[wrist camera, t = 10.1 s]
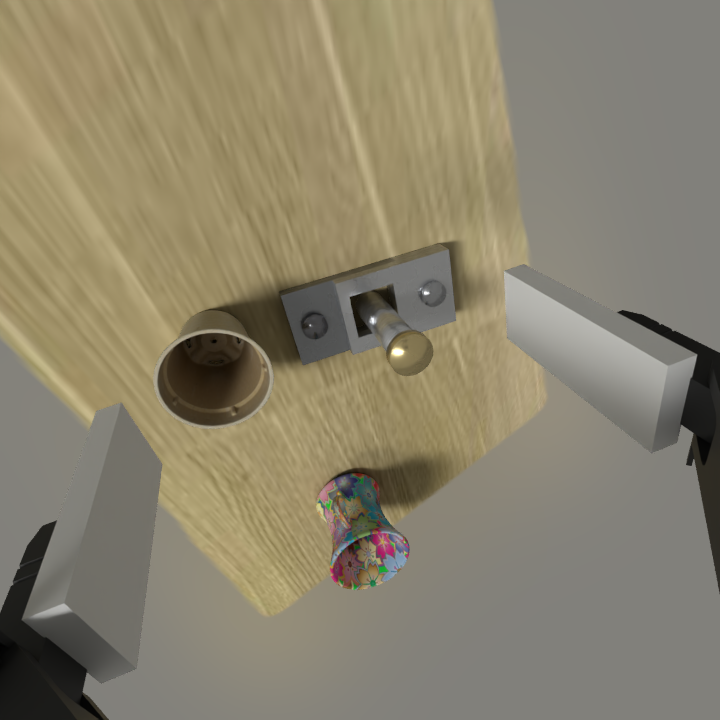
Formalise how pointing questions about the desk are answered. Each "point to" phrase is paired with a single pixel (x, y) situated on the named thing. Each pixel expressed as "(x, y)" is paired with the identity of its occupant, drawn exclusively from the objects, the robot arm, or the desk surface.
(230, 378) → the flower pot
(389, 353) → the pin
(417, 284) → the grey slotted base plate
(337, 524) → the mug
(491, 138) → the desk surface
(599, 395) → the robot arm
